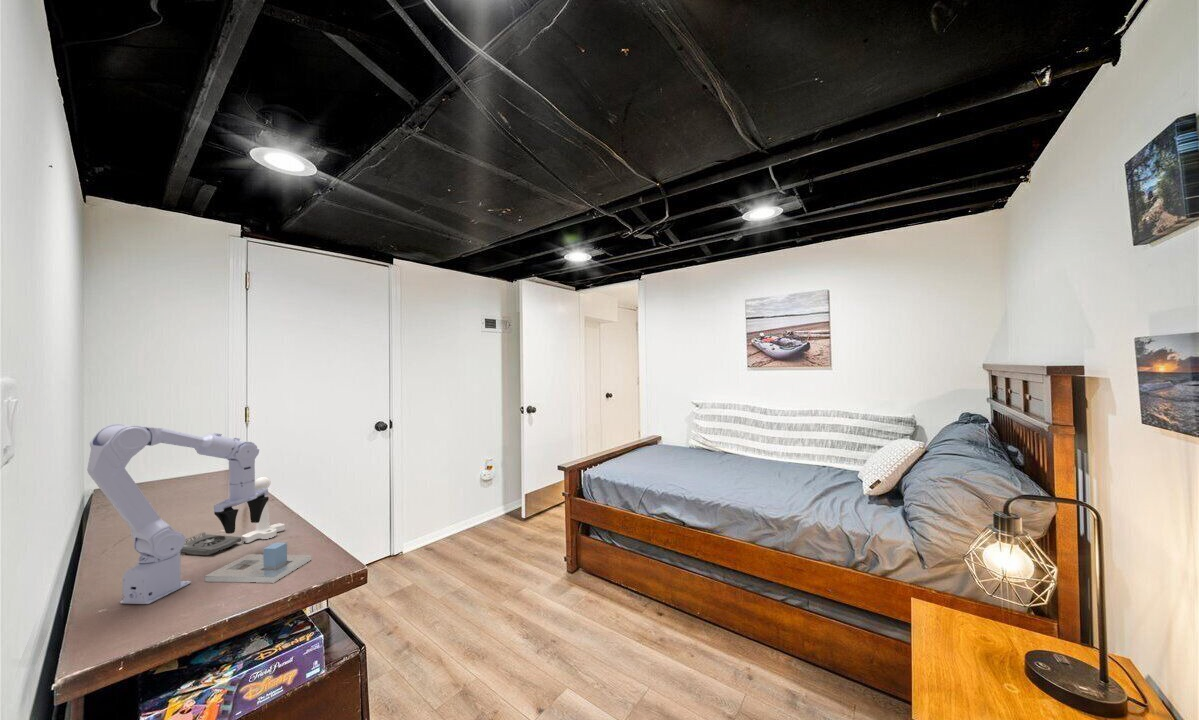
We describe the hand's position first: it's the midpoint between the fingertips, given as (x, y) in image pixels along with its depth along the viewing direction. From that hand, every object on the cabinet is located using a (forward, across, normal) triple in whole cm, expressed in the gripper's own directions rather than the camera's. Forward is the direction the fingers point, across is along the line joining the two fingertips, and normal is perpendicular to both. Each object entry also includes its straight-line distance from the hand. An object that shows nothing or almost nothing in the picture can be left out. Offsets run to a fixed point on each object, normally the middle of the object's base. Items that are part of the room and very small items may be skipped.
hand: (243, 527), depth 118 cm
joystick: (+10, +15, +8) cm, 20 cm away
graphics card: (+10, +5, +19) cm, 22 cm away
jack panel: (+9, -6, -12) cm, 16 cm away
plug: (+9, -6, -16) cm, 20 cm away
